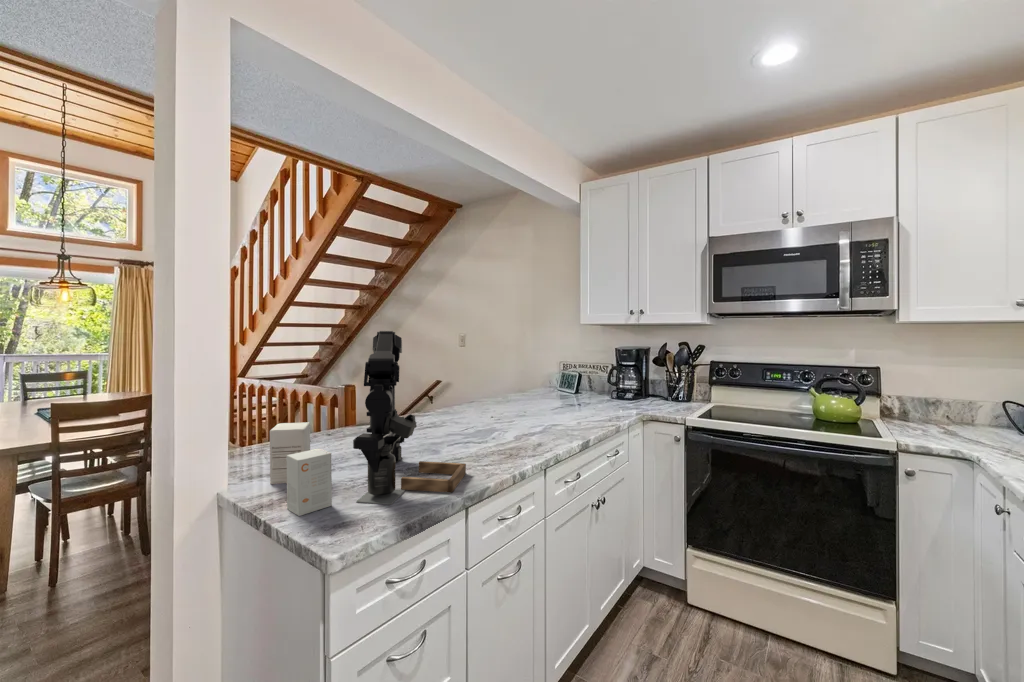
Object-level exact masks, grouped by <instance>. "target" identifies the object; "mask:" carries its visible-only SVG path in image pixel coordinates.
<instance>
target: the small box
mask: <svg viewBox="0 0 1024 682" xmlns="http://www.w3.org/2000/svg"><path fill="white" fill-rule="evenodd" d="M332 474H333V473H332V453H331V452H330V451H328V450H324V449H322V448H315V449H310V450H309V451H304V452H300V453H295V454H290V455H287V483H286V501H287V502H286V503H287V504H286V505H287V506H286V507H287V510H288V511H290V512H292V513H293V514H295V515H296V516H298V517H301V516H304V515H307V514H310V513H313V512H317V511H319V510H323V509H325V508H328V507H332V503H333V499H332V498H333V496H332V495H333V494H332V493H333V492H332V489H333V488H332V486H333V485H332V484H333V483H332V482H333V481H332Z"/></svg>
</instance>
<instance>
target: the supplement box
mask: <svg viewBox="0 0 1024 682" xmlns="http://www.w3.org/2000/svg"><path fill="white" fill-rule="evenodd" d="M310 426H311V422H309V421H308V422H306V421H305V422H281V423H277V424H276V425H275V426H274V427H272V428H271V429H270V430H269V478H270V479H269V483H270V485H276V484H277V485H280V484H287V455H290V454H295V453H300V452H304V451H309V450H311V427H310Z"/></svg>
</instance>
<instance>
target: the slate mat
mask: <svg viewBox="0 0 1024 682" xmlns="http://www.w3.org/2000/svg"><path fill="white" fill-rule="evenodd" d="M405 492H406V490H402V489H398V488H397V489H396V488H395V490H394V492H392V493H390V494H387V495H380V496H377V495H371V494H369V493H368V491H367V492H366V493H365V494H364V495H362V496H361V497H360V498H359V499H358V500H356V503H358V504H359V503H361V504H372V505H373V504H374V505H375V504H376V505H387V506H389V505H390V506H392V505H393V504H394V503H395V502H396V501H397V500H398V499H399V498H400V497H401V496H402V495H403V494H404V493H405Z"/></svg>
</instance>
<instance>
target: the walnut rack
mask: <svg viewBox="0 0 1024 682" xmlns="http://www.w3.org/2000/svg"><path fill="white" fill-rule="evenodd" d="M466 467H467V463H465V462H464V463H462V462H443V461H425V460H424V461H421V460H420V461H419V462H418V473H421V474H439V475H440V474H443V475H451V476H450V477H449V479H447V478H446V479H445V478H433V477H432V478H431V477H429V478H428V477H416V476H415V477H414V476H401V477H400V490H405V491H418V492H419V491H420V492H421V491H423V492H437V493H451V494H452V493H453V492H454V491H455V489H456V488H457V486H458V485H459V483H460V482H461V481H462V480H463V478H464V477H465V475H466V473H467V472H466V471H467V470H466V469H467V468H466Z"/></svg>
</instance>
